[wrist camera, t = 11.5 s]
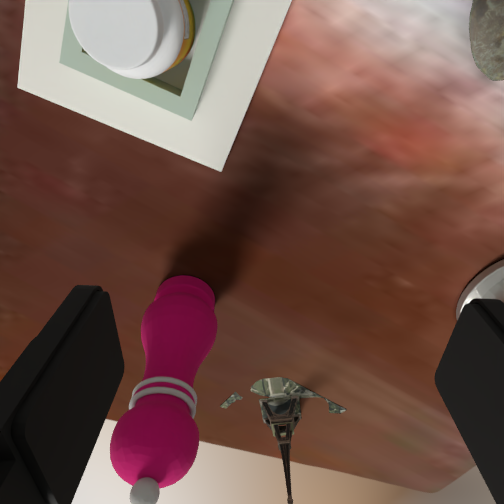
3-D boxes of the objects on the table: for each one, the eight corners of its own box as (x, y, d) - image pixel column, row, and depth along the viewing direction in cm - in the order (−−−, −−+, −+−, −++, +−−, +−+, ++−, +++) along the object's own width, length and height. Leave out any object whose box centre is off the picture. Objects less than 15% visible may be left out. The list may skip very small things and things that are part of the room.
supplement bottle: (132, 74, 26) (81, 96, 18) (103, -17, 23) (27, -42, 15) (205, 60, 26) (187, 75, 17) (185, -34, 23) (152, -71, 14)
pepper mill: (140, 280, 37) (54, 492, 20) (205, 262, 36) (172, 469, 19) (169, 329, 41) (116, 542, 24) (228, 314, 40) (218, 525, 23)
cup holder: (56, -207, 20) (21, -252, 16) (311, -52, 23) (322, -65, 20) (25, 85, 27) (-3, 92, 24) (221, 167, 31) (219, 182, 28)
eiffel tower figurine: (348, 405, 50) (379, 515, 39) (299, 439, 54) (315, 548, 43) (264, 362, 45) (271, 474, 34) (218, 403, 49) (211, 515, 38)
